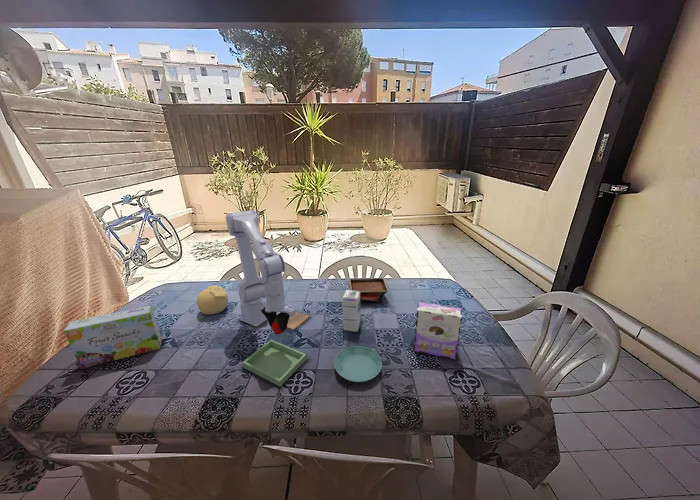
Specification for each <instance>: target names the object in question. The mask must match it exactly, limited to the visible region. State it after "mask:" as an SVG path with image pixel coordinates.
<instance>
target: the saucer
mask: <svg viewBox="0 0 700 500" xmlns="http://www.w3.org/2000/svg"><path fill="white" fill-rule="evenodd" d="M333 363H334V364H333V365H334V369H335V371H336V372H337V374H338V375H339V376H340V377H341V378H342V379H344V380H346V381H348V382H351V383H355V384H357V383H358V384H359V383H360V384H361V383H365V382H370V381H371V380H373V379H375V378H376V377H377V376H378V375H379V374H380V372H381V371H382V368H383V362H382V358H381V356H380V355H379V353H377V352H376V351H375V350H373V349H372V348H369V347H366V346H361V345H355V346H353V345H352V346H350V347H346V348H344V349H342V350H341V351H339V353H337V355H336V357H335V359H334V362H333Z"/></svg>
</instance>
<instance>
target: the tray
mask: <svg viewBox="0 0 700 500" xmlns="http://www.w3.org/2000/svg"><path fill="white" fill-rule="evenodd" d="M306 361H307V354H306V353H304V352H302V351H299V350H297V349H295V348H292V347H291V346H288V345H285V344H283V343H282V342H278V341H276V340H273V339H270V340H268V341H267V342H266V343H265V344H263V345H262V346H261V347H260V348H258V349H256V350H255V352H253V353H252V354H250V356H248V357H247V358H245V359H244V360H243V361H242V362H241V363H242V368H243V369H245V370H247V371H249V372H251V373H253V374H255V375H257V376H259V377H260V378H263V379H264V380H266V381H269V382H270V383H272V384H274V385H276V386H278V387H280V388H282V386H283V385H284V384H285V383H286V382H287V380H288V379H290V378H291V376H292V375H293V374H295V372H297V370H298V369H300V367H301V366H302V365H303V364H304V363H305V362H306Z"/></svg>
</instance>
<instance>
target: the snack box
mask: <svg viewBox="0 0 700 500" xmlns="http://www.w3.org/2000/svg"><path fill="white" fill-rule="evenodd" d="M63 333H64V335H65V338H66V339H67V342H68V344H69V346H70V348H71V350H72V353H73V355H74V358H75V360H76V362H77V364H78V366H79V369H80V370H83V369H86V368H90V367H95V366H98V365H103V364H107V363H111V362H114V361H118V360H121V359H126V358H130V357H133V356H137V355H143V354H144V353H149V352H152V351H157V350H160V349H161V348H162V342H163V339H162V336H161V332H160V329H159V325H158V322H157V319H156V315H155V312H154V309H153V306H152V305H146V306H141V307H137V308H132V309H126V310H121V311H116V312H112V313H106V314H102V315H97V316H92V317H87V318H81V319H78V320H72V321H69V322H68V323H67V325H66V326H65V328H64V329H63Z"/></svg>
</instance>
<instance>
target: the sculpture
mask: <svg viewBox="0 0 700 500" xmlns="http://www.w3.org/2000/svg"><path fill="white" fill-rule="evenodd" d="M228 304H229V294H228V291H226V290H225V289H224V288H223V287H222V286H221V285H209V286H208V287H207V288H205V289H202V291H200V292H199V293H198V296H197V298H196V306H197V309H198V311H200V313H202V314H203V315H208V316H209V315H215V314H219V313H220V314H221V312H223V311H224V310H225V309H226V308H227V306H228Z"/></svg>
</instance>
